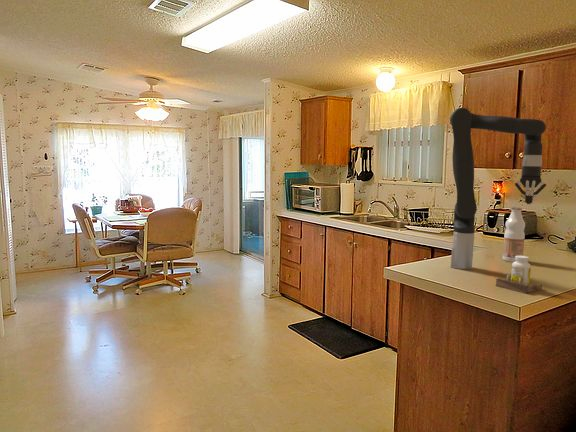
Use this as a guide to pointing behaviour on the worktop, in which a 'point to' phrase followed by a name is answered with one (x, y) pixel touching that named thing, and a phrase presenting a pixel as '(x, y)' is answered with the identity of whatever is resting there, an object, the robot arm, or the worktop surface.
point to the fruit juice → (514, 235)
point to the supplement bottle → (521, 270)
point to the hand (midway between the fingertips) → (528, 203)
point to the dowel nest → (517, 285)
